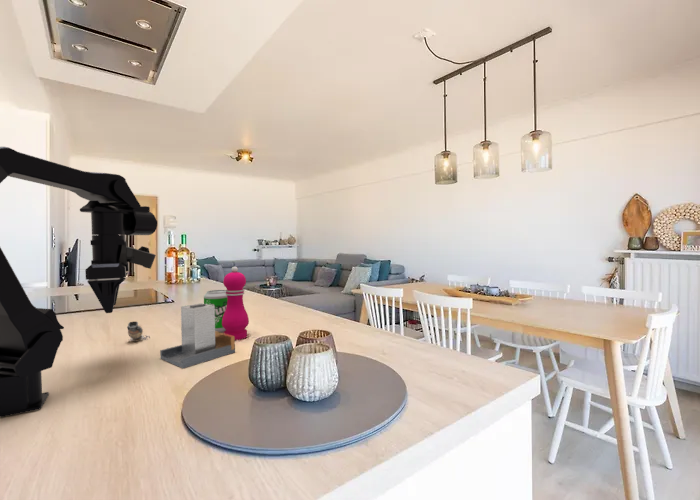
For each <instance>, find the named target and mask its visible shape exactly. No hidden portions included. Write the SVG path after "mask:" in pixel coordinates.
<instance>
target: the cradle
mask: <svg viewBox="0 0 700 500" xmlns="http://www.w3.org/2000/svg"><path fill="white" fill-rule="evenodd" d="M235 341H236V340H235V336H232V335H229V334H225V333H224V332H223V333H221V332H218V331H215V349H212V350H209V351H205V352H202V353H198V354H195V355H191V356H190V355H187V354H185V353H182V344H179V345H176V346H172V347H167V348H163V349H160V351H159V353H160V355H159V357H160V360H163V361H165V362H167V363H169V364H172V365H174V366H177V368H178V367H179V368H181V369H185V368H189V367H192V366H196V365H198V364H202V363H205V362H208V361H212V360H215V359H218V358H221V357H224V356H228V355H231V354H234V353H236V342H235Z"/></svg>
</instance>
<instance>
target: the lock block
mask: <svg viewBox="0 0 700 500" xmlns="http://www.w3.org/2000/svg"><path fill="white" fill-rule="evenodd" d="M180 316H181V317H180V320H181V321H180V322H181V345H182V353H185V354H187V355H190V356H191V355H195V354H198V353H202V352H205V351H209V350H212V349H215V306H212V305H207V304H204V303H203V302H200V303H199V302H198V303H193V304H189V305H182V306H180Z"/></svg>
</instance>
